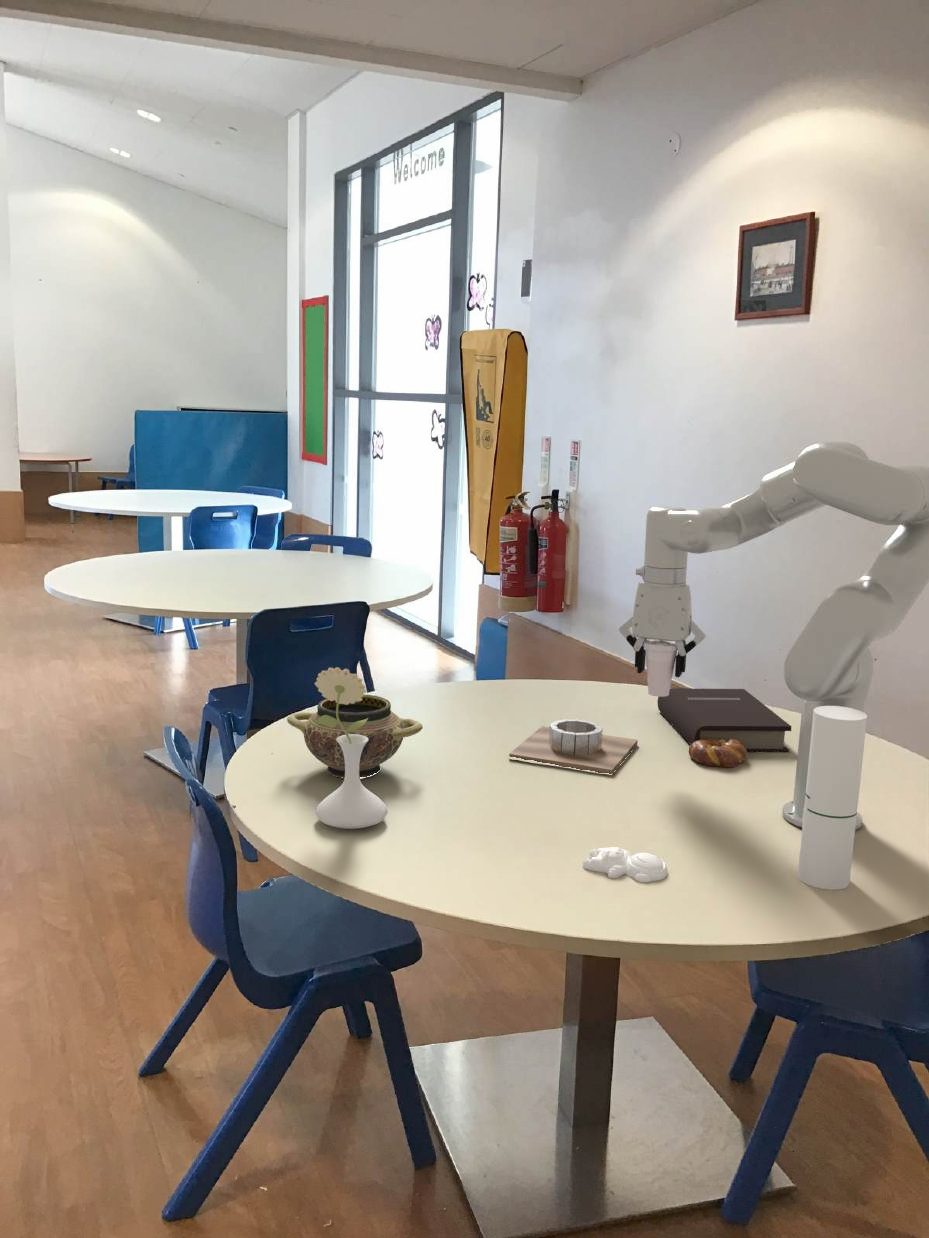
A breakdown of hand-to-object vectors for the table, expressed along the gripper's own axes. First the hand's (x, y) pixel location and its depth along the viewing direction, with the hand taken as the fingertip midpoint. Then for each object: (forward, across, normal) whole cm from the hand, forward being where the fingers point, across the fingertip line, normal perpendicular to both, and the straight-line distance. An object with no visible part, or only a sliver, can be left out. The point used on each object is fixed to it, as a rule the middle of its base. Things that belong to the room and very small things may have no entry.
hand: (659, 672), depth 196 cm
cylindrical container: (+20, +32, -35) cm, 51 cm away
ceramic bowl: (+19, -50, -25) cm, 58 cm away
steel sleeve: (+18, -17, +4) cm, 24 cm away
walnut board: (+19, -17, +4) cm, 25 cm away
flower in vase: (+19, -40, -46) cm, 63 cm away
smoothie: (+4, 0, 0) cm, 4 cm away
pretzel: (+19, +10, +13) cm, 25 cm away
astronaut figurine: (+20, +5, -44) cm, 48 cm away
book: (+20, +7, +32) cm, 38 cm away
